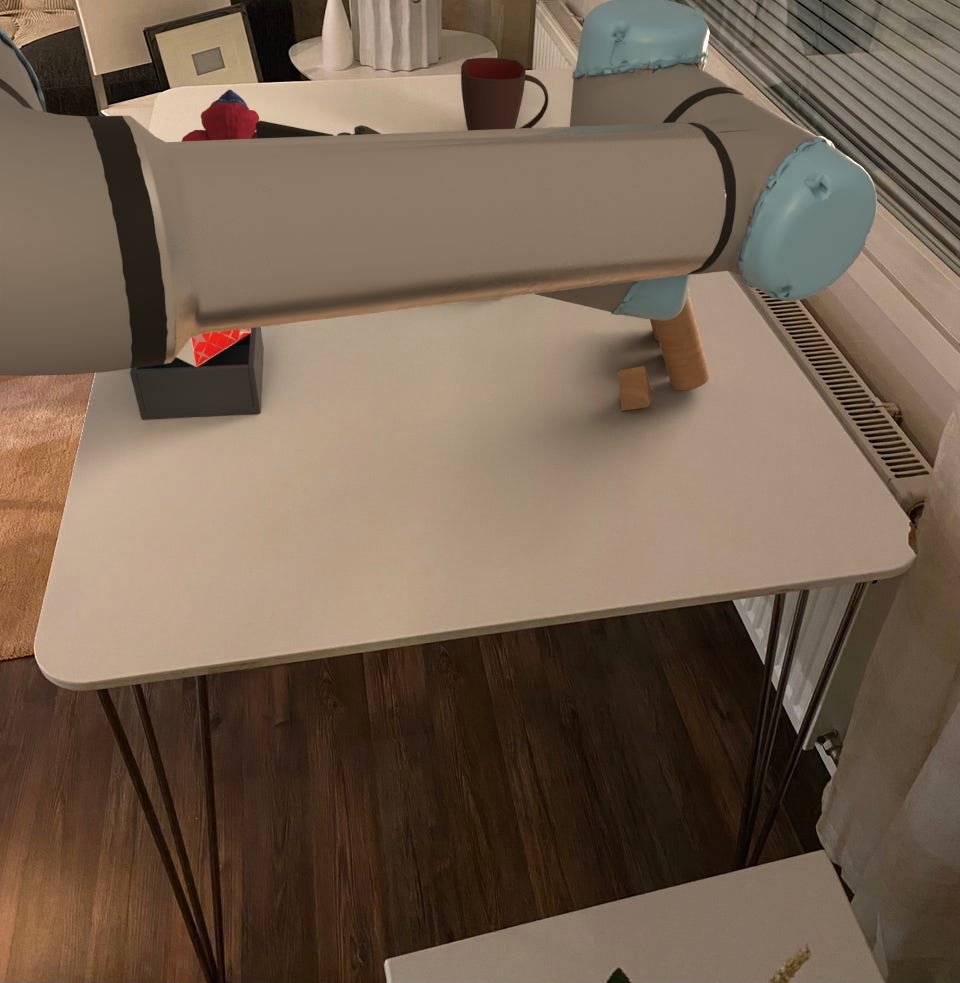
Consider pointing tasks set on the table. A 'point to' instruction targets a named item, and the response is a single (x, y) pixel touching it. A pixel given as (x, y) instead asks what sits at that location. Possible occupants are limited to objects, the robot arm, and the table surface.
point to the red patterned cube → (209, 345)
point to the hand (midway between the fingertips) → (214, 171)
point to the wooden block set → (668, 360)
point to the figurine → (226, 120)
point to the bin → (204, 383)
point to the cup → (495, 93)
